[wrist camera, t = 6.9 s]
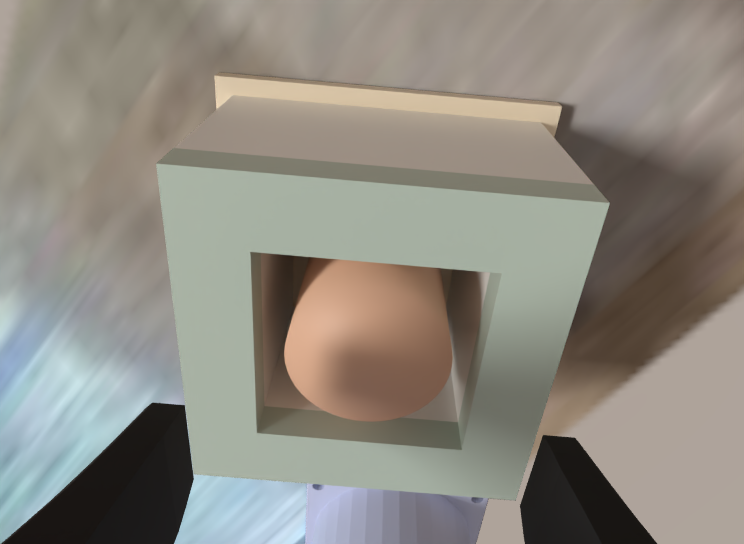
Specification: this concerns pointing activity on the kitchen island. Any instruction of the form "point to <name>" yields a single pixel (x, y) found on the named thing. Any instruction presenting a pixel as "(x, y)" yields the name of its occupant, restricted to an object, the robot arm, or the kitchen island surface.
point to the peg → (369, 338)
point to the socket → (379, 245)
